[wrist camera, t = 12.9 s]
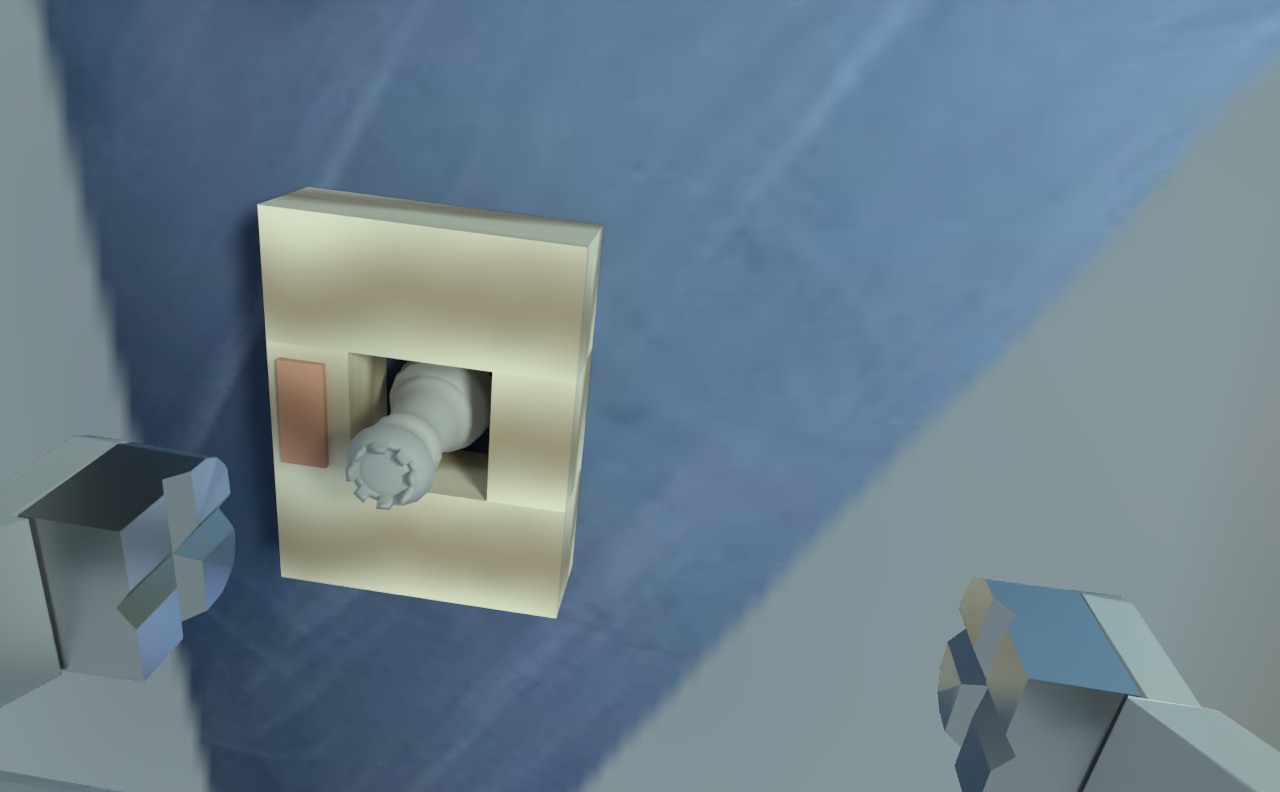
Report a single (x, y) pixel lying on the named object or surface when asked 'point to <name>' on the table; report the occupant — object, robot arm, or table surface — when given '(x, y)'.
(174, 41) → the table surface
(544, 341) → the socket block
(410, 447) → the rook chess piece
